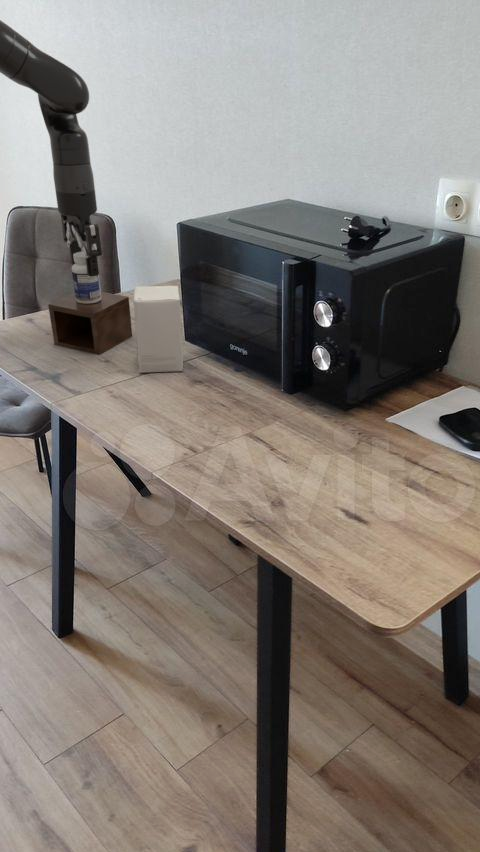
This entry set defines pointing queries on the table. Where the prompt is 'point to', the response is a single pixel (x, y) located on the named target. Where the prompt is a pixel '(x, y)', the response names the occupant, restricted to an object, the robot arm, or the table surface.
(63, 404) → the table surface
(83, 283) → the pill bottle
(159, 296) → the white product box
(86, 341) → the shelf
